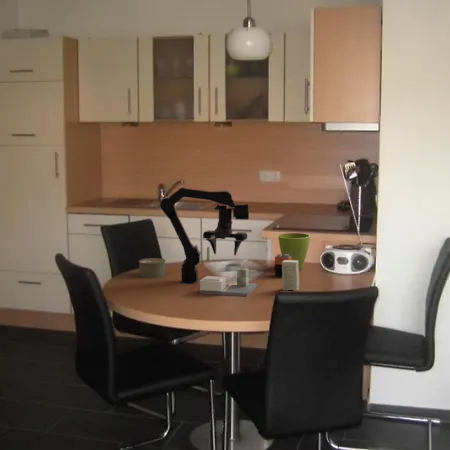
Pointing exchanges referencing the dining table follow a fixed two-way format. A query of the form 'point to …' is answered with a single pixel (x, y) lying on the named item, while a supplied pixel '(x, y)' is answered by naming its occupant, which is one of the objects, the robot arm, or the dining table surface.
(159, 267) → the can
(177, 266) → the dining table surface
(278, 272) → the battery
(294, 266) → the skincare box
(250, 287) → the board
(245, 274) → the peg
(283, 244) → the flower pot
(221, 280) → the cover
